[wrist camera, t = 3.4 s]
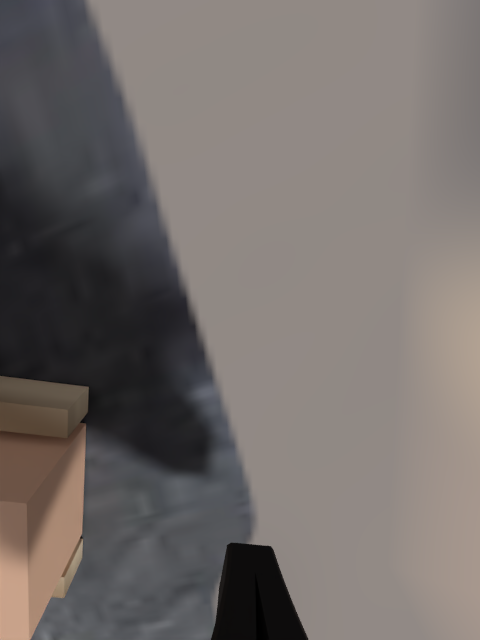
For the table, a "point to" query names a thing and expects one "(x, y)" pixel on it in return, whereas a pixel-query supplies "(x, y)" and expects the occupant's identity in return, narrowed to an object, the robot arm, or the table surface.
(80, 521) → the terracotta block
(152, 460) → the table surface
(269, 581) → the robot arm
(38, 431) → the birch chute
